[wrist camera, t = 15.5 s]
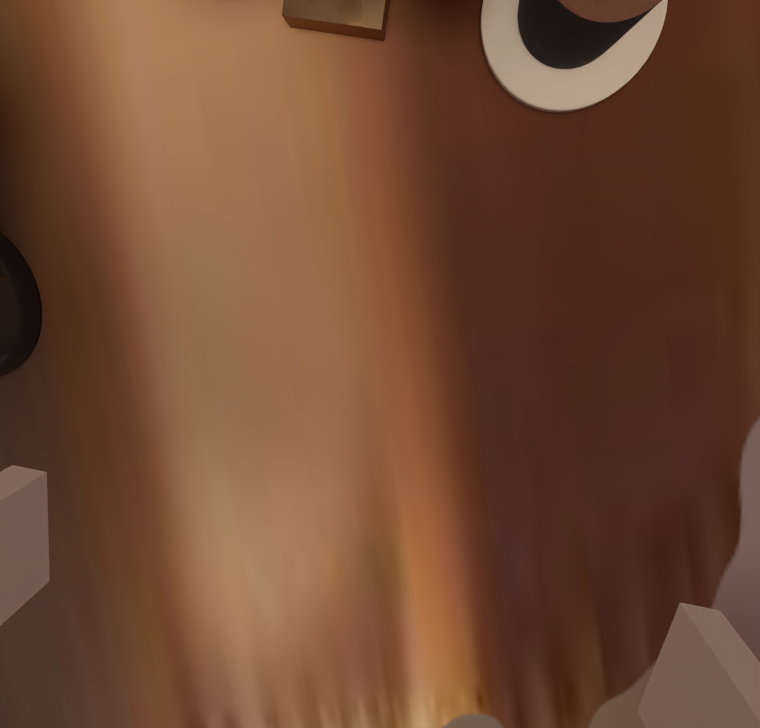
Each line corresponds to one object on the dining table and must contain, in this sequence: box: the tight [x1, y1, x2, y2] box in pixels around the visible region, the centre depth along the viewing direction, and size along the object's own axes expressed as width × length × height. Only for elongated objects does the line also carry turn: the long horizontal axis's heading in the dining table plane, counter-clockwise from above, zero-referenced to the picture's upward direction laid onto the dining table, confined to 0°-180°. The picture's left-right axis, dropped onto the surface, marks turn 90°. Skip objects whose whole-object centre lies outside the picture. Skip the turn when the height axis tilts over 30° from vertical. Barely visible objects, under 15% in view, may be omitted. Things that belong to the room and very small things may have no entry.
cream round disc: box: [480, 0, 668, 113], centre depth 33 cm, size 12×12×1 cm
